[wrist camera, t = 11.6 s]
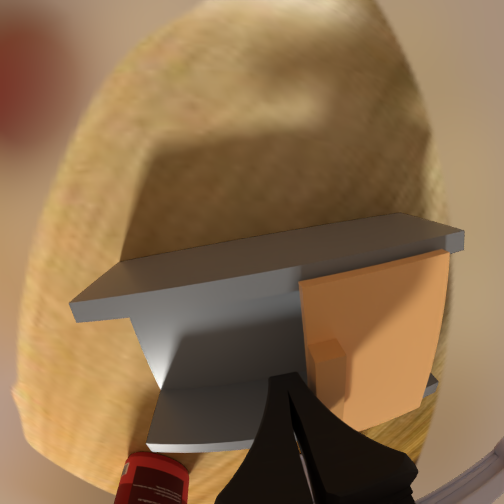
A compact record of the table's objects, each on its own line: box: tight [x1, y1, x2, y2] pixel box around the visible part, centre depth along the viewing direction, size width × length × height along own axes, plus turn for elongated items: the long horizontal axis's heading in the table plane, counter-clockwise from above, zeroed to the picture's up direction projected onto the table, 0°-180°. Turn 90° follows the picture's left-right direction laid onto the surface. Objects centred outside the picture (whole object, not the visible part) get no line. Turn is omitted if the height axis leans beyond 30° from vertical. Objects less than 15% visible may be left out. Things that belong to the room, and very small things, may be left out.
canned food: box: [114, 452, 189, 504], centre depth 17 cm, size 8×8×11 cm
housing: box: [69, 213, 464, 453], centre depth 15 cm, size 11×19×6 cm, turn 99°
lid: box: [298, 249, 450, 432], centre depth 10 cm, size 10×7×2 cm
